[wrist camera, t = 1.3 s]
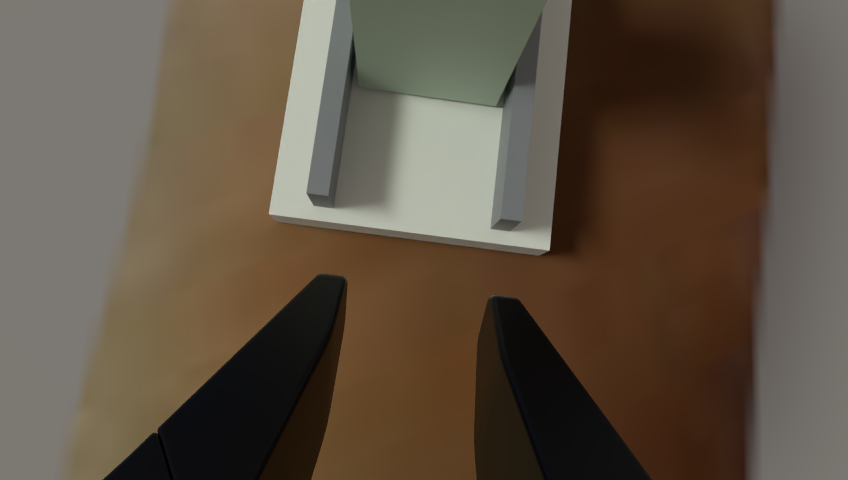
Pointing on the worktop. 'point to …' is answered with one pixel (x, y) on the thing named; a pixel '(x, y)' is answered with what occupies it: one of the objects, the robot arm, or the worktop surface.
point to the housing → (421, 145)
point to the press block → (441, 45)
